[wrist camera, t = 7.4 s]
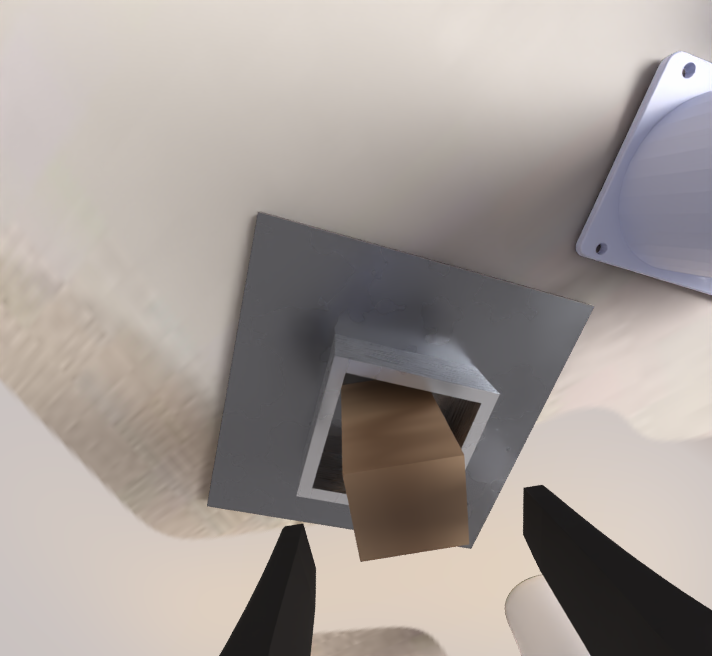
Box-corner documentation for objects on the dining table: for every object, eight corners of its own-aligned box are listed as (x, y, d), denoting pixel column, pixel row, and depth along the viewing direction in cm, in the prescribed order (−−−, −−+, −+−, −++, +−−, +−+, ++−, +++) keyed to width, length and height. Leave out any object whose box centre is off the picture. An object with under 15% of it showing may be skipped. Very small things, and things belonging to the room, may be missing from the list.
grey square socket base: (585, 303, 16) (642, 322, 13) (467, 539, 21) (489, 594, 18) (261, 211, 14) (240, 210, 11) (210, 497, 19) (186, 551, 16)
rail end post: (420, 372, 16) (464, 455, 11) (427, 439, 18) (469, 544, 12) (341, 385, 16) (342, 474, 11) (353, 451, 18) (360, 561, 12)
